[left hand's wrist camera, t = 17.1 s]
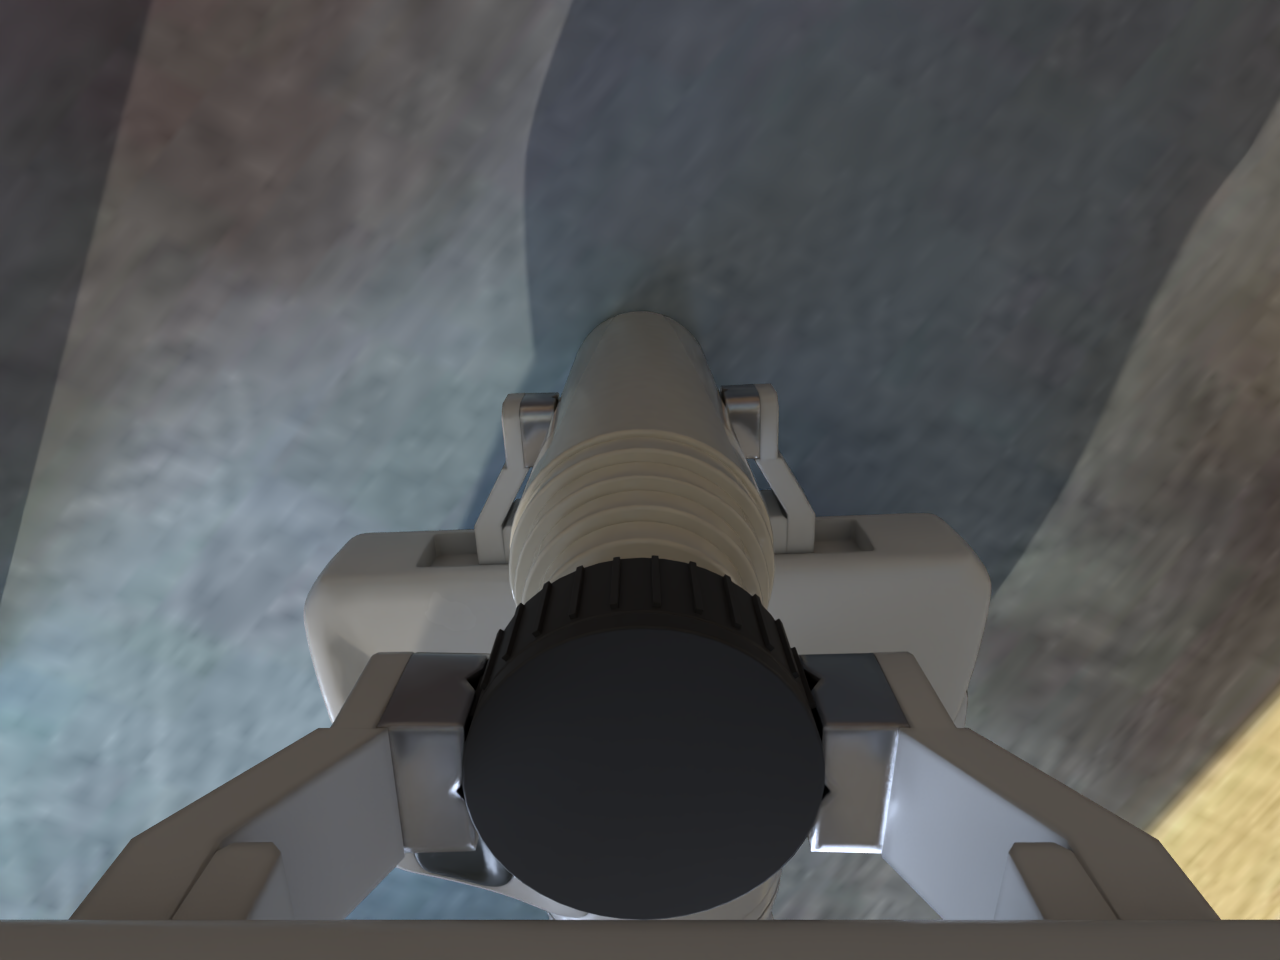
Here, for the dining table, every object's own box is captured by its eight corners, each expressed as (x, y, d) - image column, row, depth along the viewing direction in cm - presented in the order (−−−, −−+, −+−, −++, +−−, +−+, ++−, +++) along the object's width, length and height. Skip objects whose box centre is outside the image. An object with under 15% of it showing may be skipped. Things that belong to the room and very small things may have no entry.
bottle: (609, 464, 29) (555, 956, 10) (548, 347, 27) (356, 672, 9) (729, 410, 28) (905, 832, 10) (673, 287, 27) (755, 502, 8)
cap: (828, 785, 11) (860, 884, 9) (540, 847, 11) (524, 953, 10) (764, 516, 9) (789, 580, 8) (438, 596, 10) (400, 673, 8)
